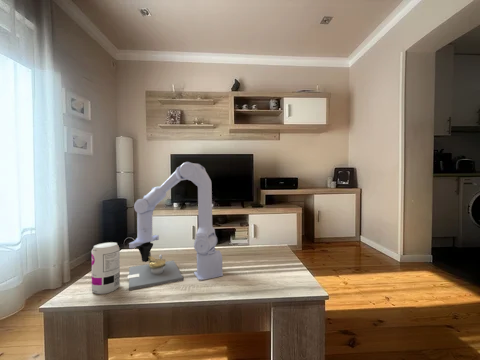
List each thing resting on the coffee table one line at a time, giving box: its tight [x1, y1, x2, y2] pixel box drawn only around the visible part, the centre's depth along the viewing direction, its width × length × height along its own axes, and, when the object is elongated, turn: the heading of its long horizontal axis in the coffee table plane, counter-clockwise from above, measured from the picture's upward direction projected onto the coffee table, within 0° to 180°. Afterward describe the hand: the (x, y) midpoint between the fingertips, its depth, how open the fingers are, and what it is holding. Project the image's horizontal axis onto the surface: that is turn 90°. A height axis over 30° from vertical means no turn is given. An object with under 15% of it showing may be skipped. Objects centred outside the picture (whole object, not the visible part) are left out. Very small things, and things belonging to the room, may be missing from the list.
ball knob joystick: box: [147, 251, 166, 268], centre depth 94 cm, size 15×6×3 cm, turn 42°
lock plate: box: [127, 254, 184, 291], centre depth 91 cm, size 18×21×5 cm
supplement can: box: [91, 241, 121, 295], centre depth 79 cm, size 8×8×15 cm
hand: (145, 261), depth 95 cm, fingers closed, pressing on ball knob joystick
